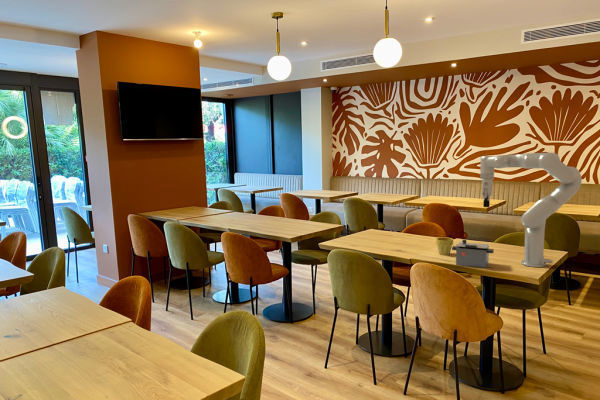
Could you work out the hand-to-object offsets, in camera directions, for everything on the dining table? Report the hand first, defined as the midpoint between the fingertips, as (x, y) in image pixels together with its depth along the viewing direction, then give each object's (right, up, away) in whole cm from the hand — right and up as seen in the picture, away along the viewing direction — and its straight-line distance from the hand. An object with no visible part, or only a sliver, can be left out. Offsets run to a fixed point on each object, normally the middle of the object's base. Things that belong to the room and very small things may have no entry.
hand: (486, 207), depth 260 cm
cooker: (-12, -33, -9) cm, 36 cm away
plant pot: (-20, -30, +15) cm, 39 cm away
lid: (-13, -22, -11) cm, 28 cm away
